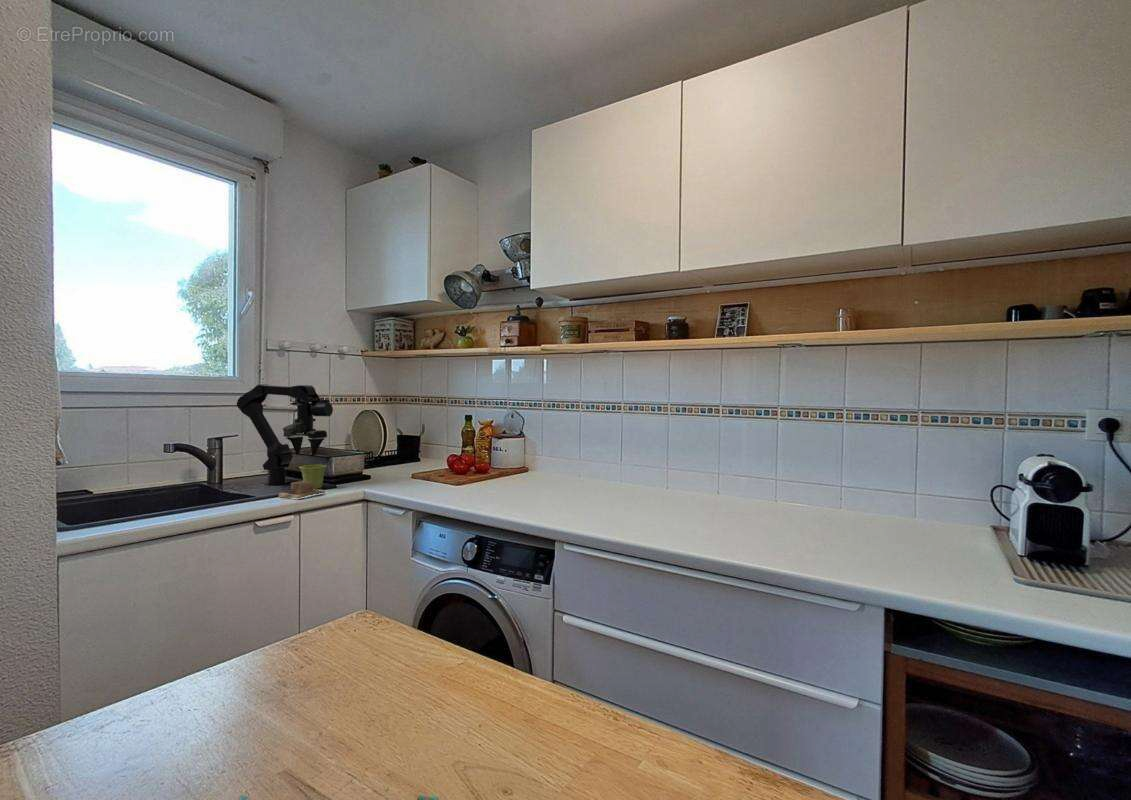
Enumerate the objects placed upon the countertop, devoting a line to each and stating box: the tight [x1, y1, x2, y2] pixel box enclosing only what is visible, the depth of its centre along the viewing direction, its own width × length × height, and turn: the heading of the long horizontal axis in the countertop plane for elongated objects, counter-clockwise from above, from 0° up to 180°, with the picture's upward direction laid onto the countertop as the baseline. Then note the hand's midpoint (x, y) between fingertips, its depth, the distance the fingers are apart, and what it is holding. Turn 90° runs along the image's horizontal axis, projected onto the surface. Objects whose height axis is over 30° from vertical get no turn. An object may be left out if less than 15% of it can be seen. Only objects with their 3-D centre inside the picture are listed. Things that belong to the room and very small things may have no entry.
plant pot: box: [299, 464, 327, 490], centre depth 198 cm, size 9×9×9 cm
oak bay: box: [278, 488, 326, 499], centre depth 184 cm, size 10×11×2 cm
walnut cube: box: [290, 480, 313, 495], centre depth 184 cm, size 5×5×5 cm
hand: (305, 455), depth 206 cm, fingers open, 9 cm apart
